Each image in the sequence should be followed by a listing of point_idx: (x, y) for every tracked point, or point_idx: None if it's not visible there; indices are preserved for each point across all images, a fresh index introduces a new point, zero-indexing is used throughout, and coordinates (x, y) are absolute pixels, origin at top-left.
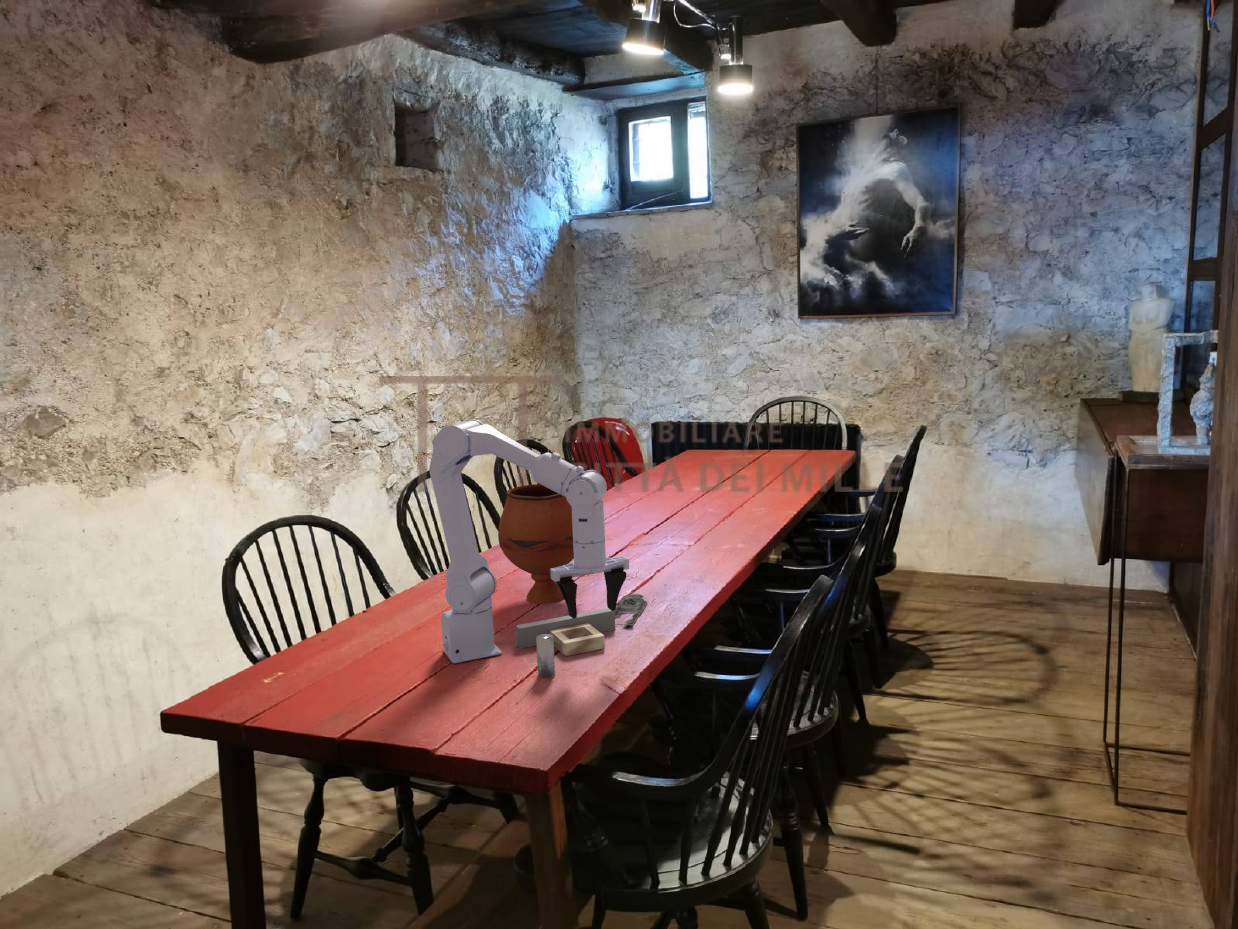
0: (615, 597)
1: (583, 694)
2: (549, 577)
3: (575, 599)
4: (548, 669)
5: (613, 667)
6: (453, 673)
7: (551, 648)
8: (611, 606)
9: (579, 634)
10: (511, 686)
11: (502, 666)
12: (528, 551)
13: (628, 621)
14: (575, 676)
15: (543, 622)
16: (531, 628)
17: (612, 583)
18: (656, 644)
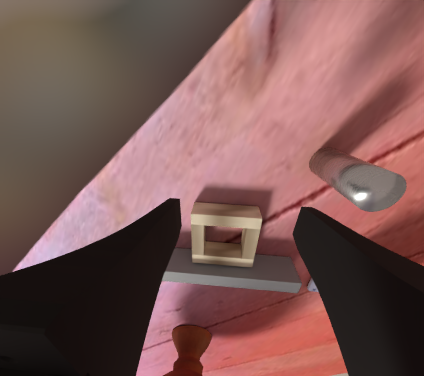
0: (152, 218)
1: (339, 22)
2: (186, 363)
3: (358, 248)
4: (339, 151)
5: (215, 127)
6: (416, 237)
7: (359, 165)
8: (176, 210)
9: (211, 247)
10: (403, 149)
11: (349, 223)
12: None
13: None
14: (291, 127)
15: (258, 283)
16: (281, 278)
17: (129, 281)
18: (117, 176)
